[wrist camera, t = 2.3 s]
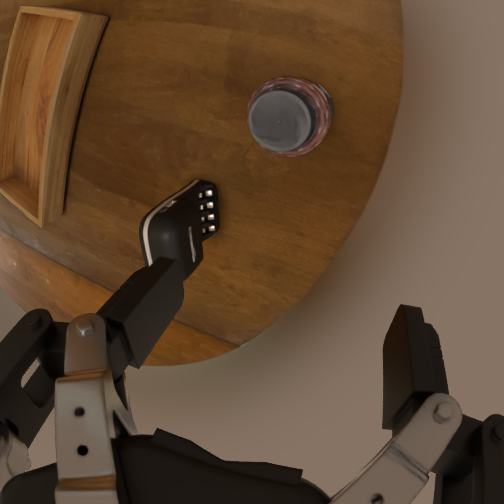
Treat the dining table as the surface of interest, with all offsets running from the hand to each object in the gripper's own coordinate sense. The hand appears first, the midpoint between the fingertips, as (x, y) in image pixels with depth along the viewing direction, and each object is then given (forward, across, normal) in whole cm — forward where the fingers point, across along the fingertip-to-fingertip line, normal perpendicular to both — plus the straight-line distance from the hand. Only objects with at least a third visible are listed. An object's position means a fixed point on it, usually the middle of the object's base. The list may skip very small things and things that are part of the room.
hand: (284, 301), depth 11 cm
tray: (+22, +38, -6) cm, 45 cm away
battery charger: (+22, +12, +7) cm, 26 cm away
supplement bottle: (+22, +3, -4) cm, 23 cm away
